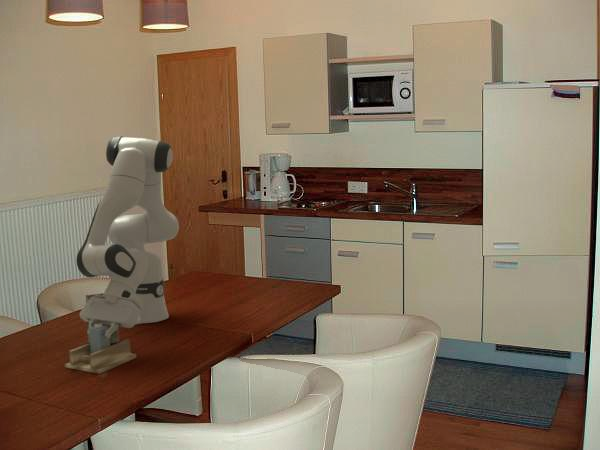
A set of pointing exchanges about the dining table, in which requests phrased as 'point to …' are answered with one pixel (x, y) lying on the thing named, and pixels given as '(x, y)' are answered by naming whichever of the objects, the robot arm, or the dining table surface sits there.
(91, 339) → the block
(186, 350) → the dining table surface
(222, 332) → the dining table surface
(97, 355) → the beige ladder rack
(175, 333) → the dining table surface
